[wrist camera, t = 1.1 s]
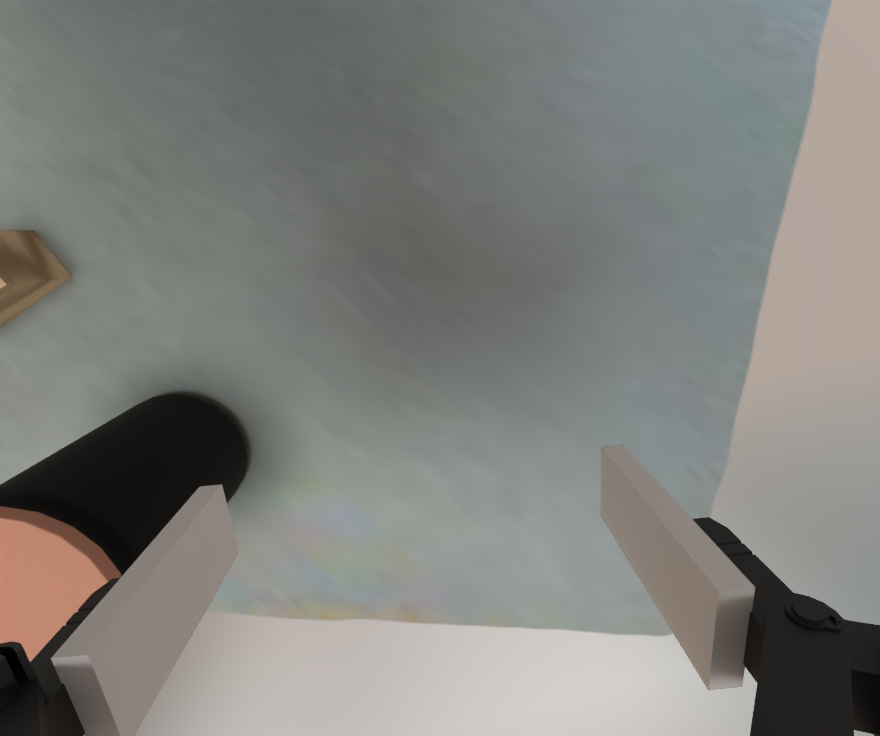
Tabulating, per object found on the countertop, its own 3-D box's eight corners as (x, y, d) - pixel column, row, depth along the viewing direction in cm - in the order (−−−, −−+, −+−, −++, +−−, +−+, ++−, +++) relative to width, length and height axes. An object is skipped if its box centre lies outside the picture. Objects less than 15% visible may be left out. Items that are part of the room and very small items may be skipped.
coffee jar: (103, 408, 39) (-160, 547, 21) (224, 375, 38) (57, 490, 21) (157, 515, 41) (-35, 715, 24) (270, 486, 41) (157, 668, 24)
